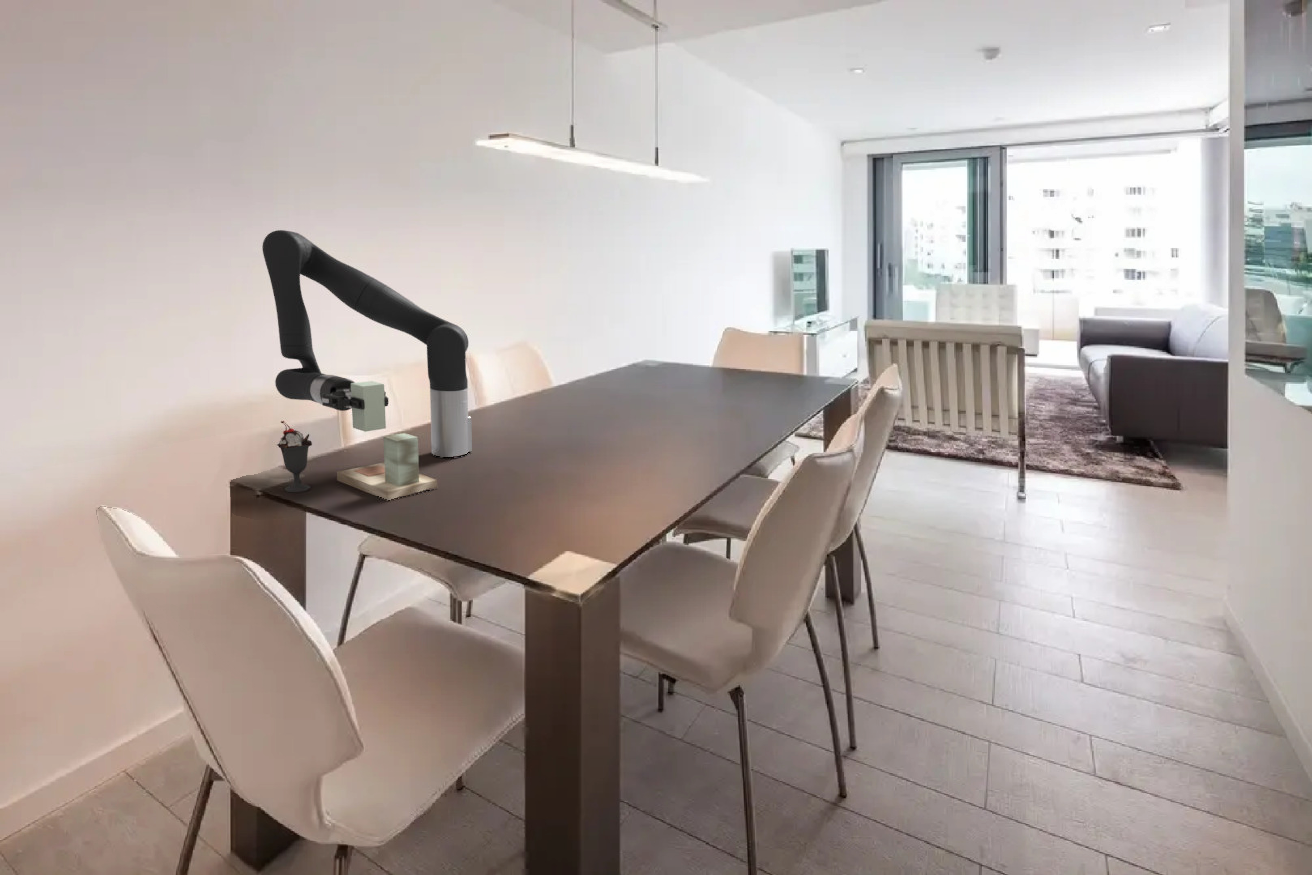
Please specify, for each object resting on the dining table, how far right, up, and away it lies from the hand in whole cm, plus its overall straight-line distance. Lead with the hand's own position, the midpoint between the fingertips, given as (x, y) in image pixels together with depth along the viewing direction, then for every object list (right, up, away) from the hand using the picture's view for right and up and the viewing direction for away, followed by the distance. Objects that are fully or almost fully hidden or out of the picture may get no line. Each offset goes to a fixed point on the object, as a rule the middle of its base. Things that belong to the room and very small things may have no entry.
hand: (374, 403), depth 160 cm
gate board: (+2, -18, +2) cm, 18 cm away
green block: (-2, -5, +3) cm, 7 cm away
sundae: (-15, -19, -3) cm, 24 cm away
